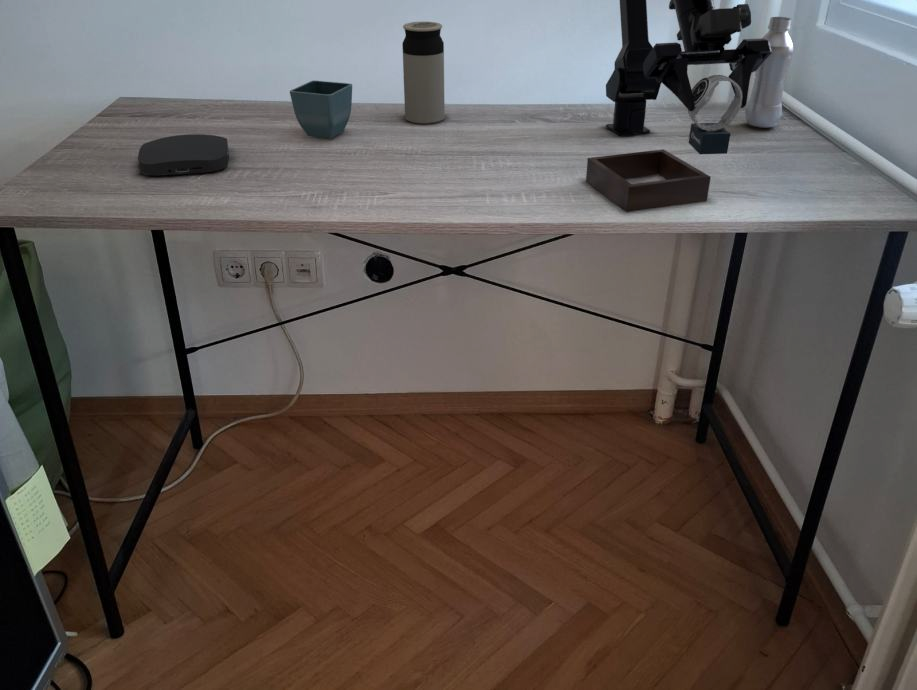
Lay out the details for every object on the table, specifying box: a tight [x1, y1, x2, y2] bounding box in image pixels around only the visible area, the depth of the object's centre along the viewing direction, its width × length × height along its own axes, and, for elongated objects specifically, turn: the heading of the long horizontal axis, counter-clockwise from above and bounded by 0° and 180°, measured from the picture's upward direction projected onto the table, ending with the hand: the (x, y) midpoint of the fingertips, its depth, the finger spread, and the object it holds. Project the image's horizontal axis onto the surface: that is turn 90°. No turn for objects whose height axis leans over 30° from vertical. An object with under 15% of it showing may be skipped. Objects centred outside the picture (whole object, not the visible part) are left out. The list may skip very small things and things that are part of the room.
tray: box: [585, 149, 712, 213], centre depth 132 cm, size 14×14×4 cm
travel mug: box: [402, 21, 446, 125], centre depth 163 cm, size 8×8×18 cm
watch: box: [687, 74, 743, 155], centre depth 127 cm, size 6×8×11 cm
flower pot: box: [289, 80, 353, 140], centre depth 156 cm, size 9×9×9 cm
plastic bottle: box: [745, 16, 794, 129], centre depth 157 cm, size 6×7×20 cm
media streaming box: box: [137, 133, 230, 176], centre depth 144 cm, size 15×15×3 cm
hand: (718, 108), depth 126 cm, fingers closed on watch, 8 cm apart
